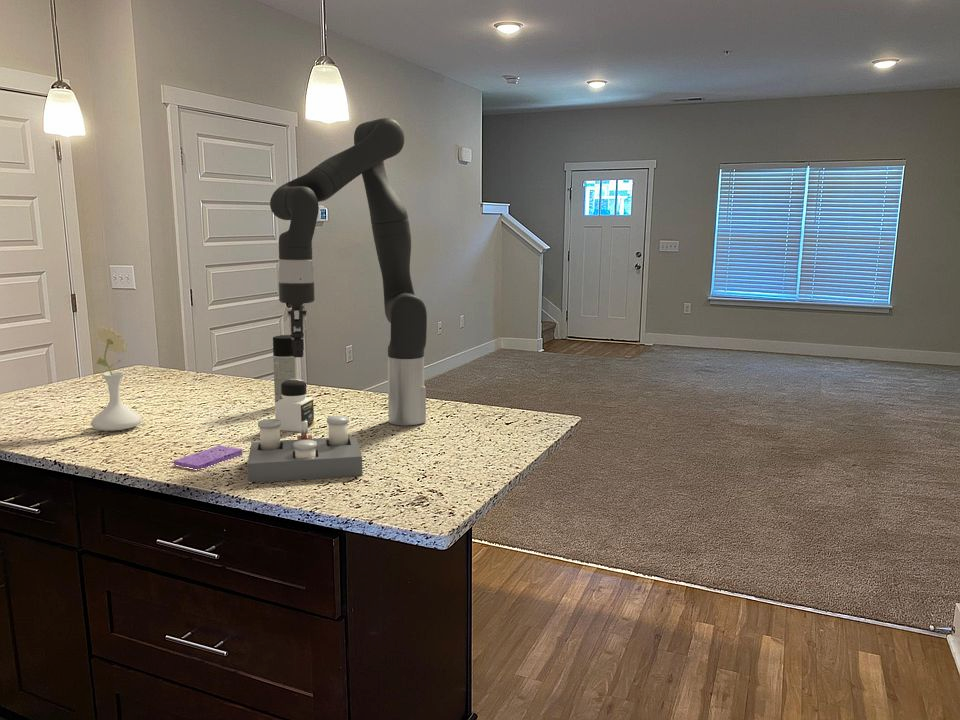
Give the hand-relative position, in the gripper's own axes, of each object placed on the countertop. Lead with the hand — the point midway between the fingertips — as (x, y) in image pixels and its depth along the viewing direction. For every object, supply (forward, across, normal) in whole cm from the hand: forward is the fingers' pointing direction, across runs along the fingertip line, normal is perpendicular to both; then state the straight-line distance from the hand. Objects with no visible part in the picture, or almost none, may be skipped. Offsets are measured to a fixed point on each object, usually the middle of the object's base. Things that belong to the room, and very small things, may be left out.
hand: (298, 354), depth 160 cm
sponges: (+22, -5, +19) cm, 30 cm away
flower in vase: (+22, +26, +45) cm, 56 cm away
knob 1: (+18, -11, +6) cm, 22 cm away
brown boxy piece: (+18, -10, -1) cm, 21 cm away
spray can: (+22, +40, +4) cm, 46 cm away
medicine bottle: (+22, +18, +2) cm, 29 cm away
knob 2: (+18, -10, -8) cm, 22 cm away
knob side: (+21, -18, -1) cm, 28 cm away
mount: (+22, -14, -1) cm, 26 cm away
